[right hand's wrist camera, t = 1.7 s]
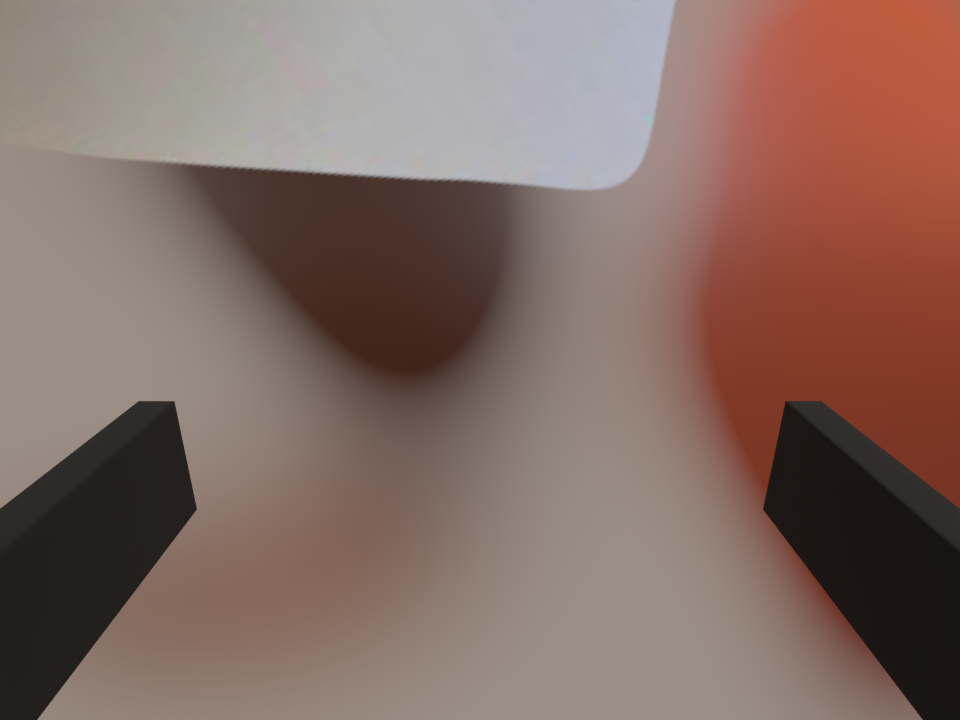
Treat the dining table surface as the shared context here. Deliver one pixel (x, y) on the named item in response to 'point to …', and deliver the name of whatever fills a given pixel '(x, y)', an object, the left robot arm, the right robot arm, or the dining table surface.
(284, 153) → the dining table surface
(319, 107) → the dining table surface
